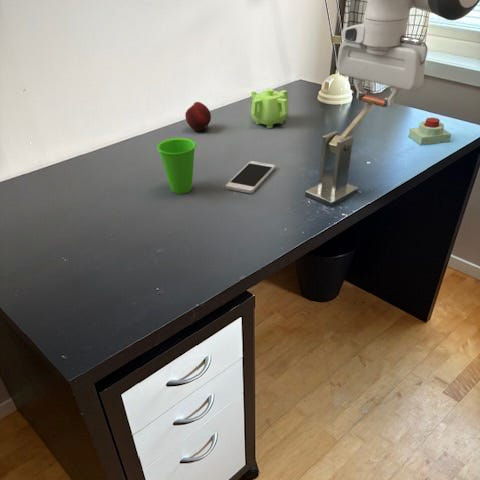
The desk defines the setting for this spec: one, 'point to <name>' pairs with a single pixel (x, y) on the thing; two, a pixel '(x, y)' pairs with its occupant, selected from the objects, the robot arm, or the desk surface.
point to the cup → (178, 163)
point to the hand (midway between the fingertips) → (374, 102)
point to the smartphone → (250, 177)
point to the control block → (429, 134)
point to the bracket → (333, 172)
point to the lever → (357, 119)
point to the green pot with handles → (269, 107)
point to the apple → (198, 116)
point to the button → (432, 122)
